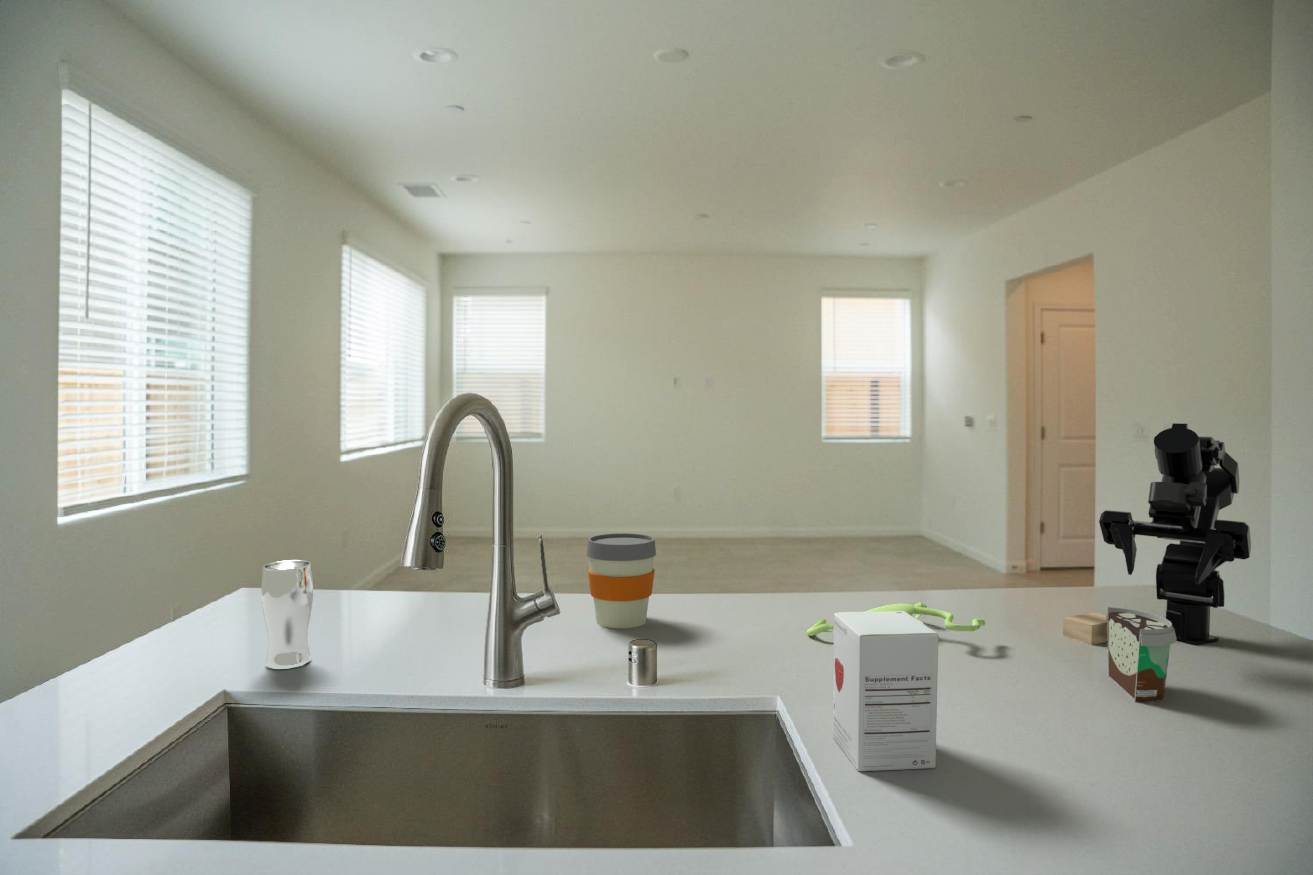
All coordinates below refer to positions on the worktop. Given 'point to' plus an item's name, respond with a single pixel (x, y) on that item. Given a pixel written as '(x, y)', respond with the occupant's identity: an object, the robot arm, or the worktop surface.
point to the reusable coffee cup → (621, 578)
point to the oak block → (1086, 628)
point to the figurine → (910, 609)
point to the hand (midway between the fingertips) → (1162, 577)
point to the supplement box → (885, 690)
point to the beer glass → (287, 610)
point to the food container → (1139, 652)
